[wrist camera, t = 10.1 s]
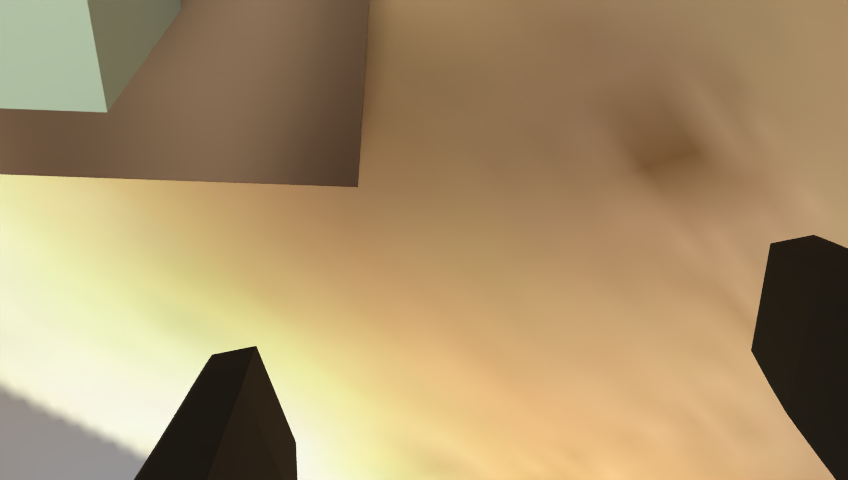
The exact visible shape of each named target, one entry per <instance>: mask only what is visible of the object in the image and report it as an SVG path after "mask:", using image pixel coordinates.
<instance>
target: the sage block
mask: <svg viewBox="0 0 848 480" xmlns="http://www.w3.org/2000/svg"><path fill="white" fill-rule="evenodd" d="M180 10H181V0H0V108H6V109H32V110H58V111H83V112H108V111H109V109H110V108H111V106H112V105H113V104H114V102H115V101H116V100H117V98H118V97H119V95H120V94H121V93H122V91H123V90H124V88H125V87H126V86H127V84H128V83H129V81H130V80H131V79H132V77H133V76H134V74H135V73H136V72H137V70H138V69H139V67H140V66H141V65H142V63H143V62H144V60H145V59H146V58H147V56H148V55H149V53H150V52H151V51H152V49H153V48H154V46H155V45H156V44H157V42H158V41H159V40H160V38H161V37H162V35H163V34H164V33H165V31H166V30H167V28H168V27H169V26H170V24H171V23H172V21H173V20H174V19H175V17H176V16H177V14H178V13H179V12H180Z"/></svg>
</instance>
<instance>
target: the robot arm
mask: <svg viewBox="0 0 848 480" xmlns="http://www.w3.org/2000/svg"><path fill="white" fill-rule="evenodd" d="M751 351H752V353H753V355H754V357H755V358H756V360H757V362H758V364H759V366H760V368H761V369H762V371H763V373H764V375H765V377H766V379H767V381H768V382H769V384H770V386H771V388H772V389H773V391H774V393H775V394H776V396H777V398H778V399H779V401H780V403H781V405H782V406H783V408H784V410H785V411H786V413H787V414H788V416H789V417H790V419H791V420H792V421H793V423H794V424H795V426H796V427H797V428H798V430H799V431H800V432H801V434H802V435H803V436H804V438H805V439H806V440H807V442H808V443H809V444H810V446H811V447H812V448H813V450H814V451H815V452H816V454H817V455H818V457H819V458H820V459H821V461H822V462H823V463H824V465H825V466H826V467H827V469H828V470H829V471H830V472H831V474H832V475H833V476H834V478H835V479H836V480H848V248H845V247H843V246H840V245H838V244H836V243H833V242H831V241H828V240H826V239H823V238H820V237H818V236H815V235H811V236H806V237H801V238H796V239H791V240H786V241H781V242H776V243H771V244H770V249H769V255H768V261H767V266H766V272H765V277H764V283H763V288H762V294H761V299H760V305H759V310H758V316H757V321H756V327H755V333H754V338H753V344H752V349H751ZM134 480H297V461H296V442H295V439H294V437H293V435H292V432H291V430H290V427H289V425H288V422H287V420H286V417H285V415H284V413H283V410H282V408H281V405H280V403H279V400H278V398H277V396H276V393H275V391H274V388H273V386H272V383H271V381H270V378H269V376H268V374H267V371H266V369H265V366H264V364H263V361H262V359H261V357H260V354H259V352H258V349H257V347H256V346H254V347H249V348H244V349H239V350H234V351H229V352H224V353H219V354H214V355H212V356H211V357H210V359H209V360H208V362H207V363H206V365H205V366H204V368H203V370H202V371H201V373H200V374H199V376H198V378H197V379H196V381H195V382H194V384H193V386H192V387H191V389H190V391H189V392H188V394H187V396H186V397H185V399H184V401H183V402H182V404H181V406H180V407H179V409H178V410H177V412H176V414H175V415H174V417H173V419H172V420H171V422H170V424H169V425H168V427H167V428H166V430H165V432H164V433H163V435H162V437H161V438H160V440H159V441H158V443H157V445H156V446H155V448H154V449H153V451H152V452H151V454H150V455H149V457H148V459H147V460H146V462H145V463H144V465H143V466H142V468H141V469H140V471H139V473H138V474H137V476H136V477H135V479H134Z"/></svg>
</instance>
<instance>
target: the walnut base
mask: <svg viewBox="0 0 848 480" xmlns="http://www.w3.org/2000/svg"><path fill="white" fill-rule="evenodd" d="M368 11H369V0H181V10H180V12H179V13H178V14H177V16H176V17H175V19H174V20H173V21H172V23H171V24H170V26H169V27H168V28H167V30H166V31H165V33H164V34H163V35H162V37H161V38H160V40H159V41H158V42H157V44H156V45H155V46H154V48H153V49H152V51H151V52H150V53H149V55H148V56H147V58H146V59H145V60H144V62H143V63H142V65H141V66H140V67H139V69H138V70H137V72H136V73H135V74H134V76H133V77H132V79H131V80H130V81H129V83H128V84H127V86H126V87H125V88H124V90H123V91H122V93H121V94H120V95H119V97H118V98H117V100H116V101H115V102H114V104H113V105H112V106H111V108H110V109H109V111H108V112H83V111H58V110H32V109H6V108H0V174H10V175H38V176H66V177H94V178H121V179H149V180H177V181H205V182H233V183H261V184H289V185H317V186H345V187H358V178H359V162H360V145H361V128H362V111H363V95H364V78H365V61H366V44H367V28H368Z"/></svg>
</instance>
